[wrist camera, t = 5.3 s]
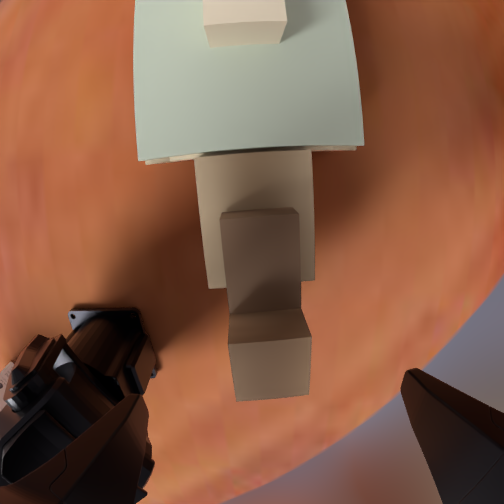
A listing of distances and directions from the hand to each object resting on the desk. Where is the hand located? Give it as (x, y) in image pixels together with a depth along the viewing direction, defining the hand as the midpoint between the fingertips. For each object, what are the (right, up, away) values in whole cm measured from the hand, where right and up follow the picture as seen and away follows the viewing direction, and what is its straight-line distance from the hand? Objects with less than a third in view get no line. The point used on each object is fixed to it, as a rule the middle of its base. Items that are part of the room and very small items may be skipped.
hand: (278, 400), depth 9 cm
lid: (-1, +16, +2) cm, 16 cm away
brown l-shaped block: (0, +3, +5) cm, 6 cm away
